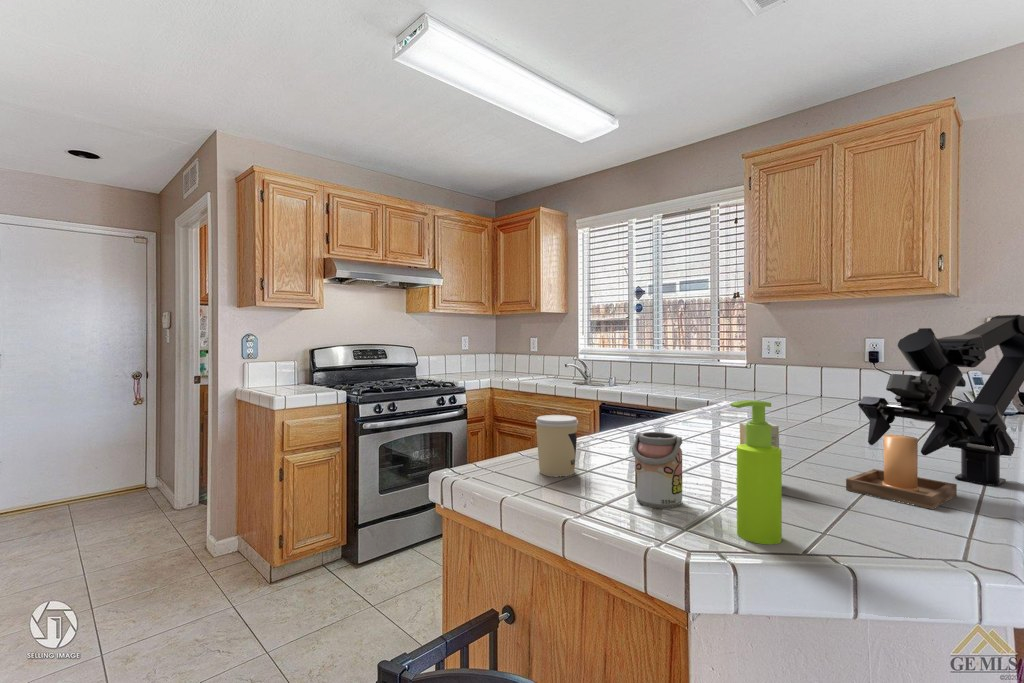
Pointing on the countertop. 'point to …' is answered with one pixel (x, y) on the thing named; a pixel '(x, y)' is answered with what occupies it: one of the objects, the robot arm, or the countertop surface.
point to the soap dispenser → (759, 480)
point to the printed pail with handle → (658, 469)
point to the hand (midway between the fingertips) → (895, 448)
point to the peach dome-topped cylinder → (901, 462)
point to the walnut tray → (927, 497)
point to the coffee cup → (556, 444)
